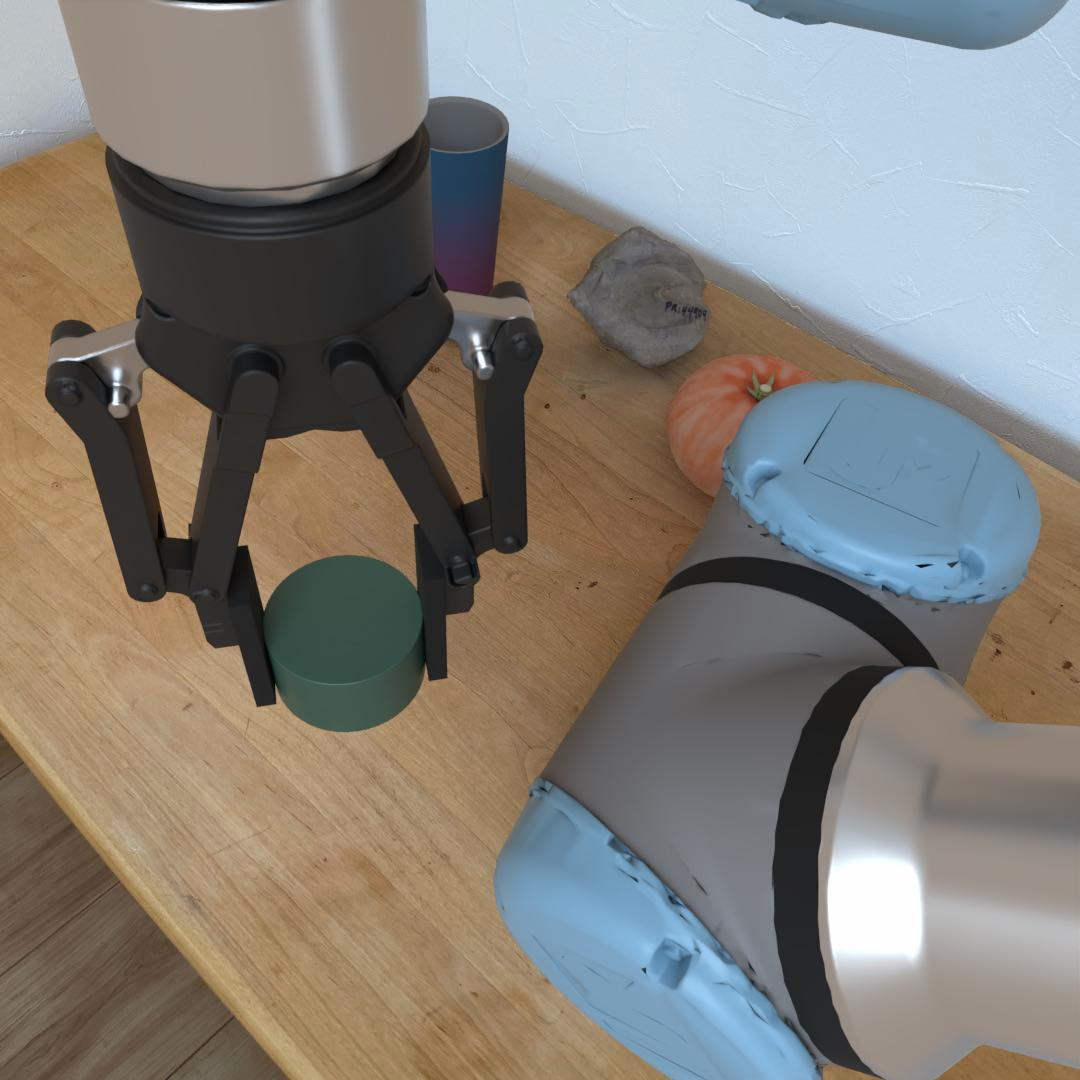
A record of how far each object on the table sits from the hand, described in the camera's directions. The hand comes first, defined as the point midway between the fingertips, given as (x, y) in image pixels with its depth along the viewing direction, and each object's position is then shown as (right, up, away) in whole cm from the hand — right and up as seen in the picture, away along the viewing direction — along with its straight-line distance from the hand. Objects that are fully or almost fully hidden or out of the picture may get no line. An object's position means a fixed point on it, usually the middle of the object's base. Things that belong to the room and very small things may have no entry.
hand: (350, 663), depth 42 cm
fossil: (+14, +19, +35) cm, 42 cm away
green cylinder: (0, 0, 0) cm, 0 cm away
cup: (+1, +21, +36) cm, 42 cm away
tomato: (+21, +9, +27) cm, 35 cm away
